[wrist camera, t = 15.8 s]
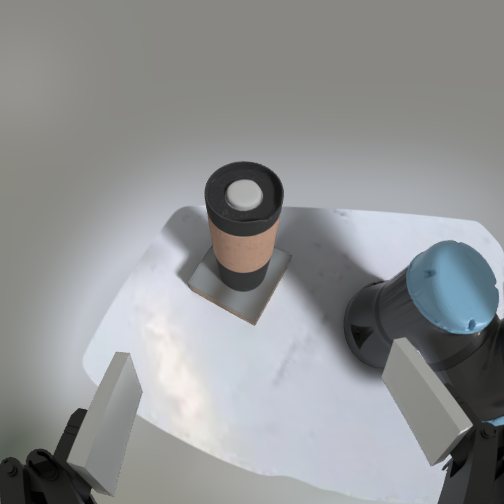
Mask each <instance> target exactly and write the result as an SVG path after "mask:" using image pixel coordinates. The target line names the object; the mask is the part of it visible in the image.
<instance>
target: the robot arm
mask: <svg viewBox="0 0 504 504" xmlns="http://www.w3.org/2000/svg"><path fill="white" fill-rule="evenodd" d="M495 284H496V278H495V276H494V273H493V271H492V269H491V267H490V266H489V264H488V263H487V261H486V260H485V259H484V258H483V257H482V255H481V254H480V253H478V252H477V251H476V250H475V249H473V248H472V247H470V246H469V245H467V244H464V243H461V242H460V243H457V242H456V241H453V240H447V241H442V242H439V243H436V244H434V245H433V246H431V247H430V248H429V249H427V250H426V251H424V252H422V253H420V254H418V255H417V256H416V257H415V258H414V259H413V260H412V261H411V263H410V265H408V266H407V267H406V268H405V269H403V270H402V271H401V272H400V273H398V274H397V275H396V276H394V277H393V278H392V279H391V280H386V281H378V282H374V283H371V284H369V285H367V286H366V287H364V288H363V289H362V290H360V291H359V292H358V293H357V294H356V295H355V296H354V297H353V298H352V300H351V301H350V303H349V305H348V307H347V310H346V313H345V318H344V331H345V337H346V340H347V343H348V345H349V347H350V349H351V350H352V352H353V353H354V354H355V356H356V357H357V358H358V359H360V360H361V361H362V362H364V363H365V364H367V365H370V366H373V367H378V368H385V369H384V371H383V374H382V377H381V378H382V380H383V381H384V383H385V385H386V386H387V388H388V390H389V392H390V393H391V395H392V397H393V398H394V400H395V402H396V404H397V405H398V407H399V409H400V411H401V412H402V414H403V416H404V418H405V419H406V421H407V423H408V425H409V427H410V428H411V430H412V432H413V434H414V436H415V437H416V439H417V441H418V443H419V445H420V447H421V449H422V450H423V452H424V454H425V456H426V458H427V460H428V462H429V464H430V466H434V465H436V464H438V463H440V462H442V461H444V460H445V459H446V457H447V456H448V455H449V454H450V455H451V456H452V458H451V459H450V460H449V461H448V462H447V463H446V464H445V465H444V467H443V468H442V470H443V471H444V470H445V469H446V468H447V467H448V469H447V470H446V471H447V473H446V477H445V481H444V484H443V488H442V491H441V494H440V498H439V501H438V504H504V318H503V319H501V320H500V319H499V317H498V316H497V314H496V311H497V308H498V303H499V292H498V289H497V288H496V287H495ZM417 350H419V352H420V353H421V355H422V357H423V358H424V359H423V358H422V357H421V355H420V354H419V353H418V352H417ZM425 361H426V362H425ZM142 393H143V391H142V388H141V385H140V383H139V380H138V377H137V374H136V371H135V368H134V365H133V361H132V358H131V355H130V353H123V352H116V353H115V355H114V357H113V359H112V361H111V363H110V365H109V367H108V369H107V371H106V373H105V375H104V377H103V379H102V381H101V383H100V385H99V387H98V390H97V392H96V394H95V396H94V398H93V400H92V402H91V405H90V407H89V409H88V410H85V409H81V408H78V409H77V410H76V411H75V412H74V413H73V414H72V415H71V417H70V419H69V421H68V423H67V426H66V428H65V430H64V433H63V435H62V436H61V439H60V441H59V443H58V445H57V448H56V450H55V452H54V455H51V453H50V452H48V451H47V450H44V449H35V450H33V451H32V452H30V454H29V455H28V456H27V459H26V465H23V464H22V463H21V462H20V461H19V460H17V459H16V458H12V457H9V458H6V459H4V460H3V461H2V463H1V464H0V501H1V504H97V503H96V501H95V499H94V498H93V496H92V495H91V493H90V492H91V489H92V488H93V489H94V490H95V491H96V492H98V493H101V494H105V495H108V496H112V497H114V494H115V490H116V486H117V482H118V478H119V474H120V469H121V466H122V462H123V458H124V454H125V451H126V447H127V443H128V440H129V436H130V432H131V429H132V426H133V422H134V419H135V415H136V412H137V409H138V405H139V402H140V399H141V396H142Z"/></svg>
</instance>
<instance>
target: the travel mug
mask: <svg viewBox="0 0 504 504" xmlns="http://www.w3.org/2000/svg"><path fill="white" fill-rule="evenodd" d="M283 198H284V190H283V186H282V183H281V181H280V179H279V178H278V176H277V175H276V174H275V173H274V172H273V171H271V170H270V169H269V168H267V167H265V166H263V165H261V164H258V163H254V162H245V161H242V162H234V163H230V164H227V165H225V166H223V167H221V168H219V169H218V170H216V171H215V172H214V173H213V174H212V175H211V177H210V178H209V179H208V181H207V183H206V187H205V201H206V208H207V214H208V220H209V226H210V232H211V238H212V244H213V249H214V254H215V258H216V261H217V265H218V268H219V272H220V275H221V278H222V280H223V282H224V283H225V284H226V285H227V286H228V287H229V288H231V289H233V290H235V291H240V292H247V291H251V290H253V289H255V288H257V287H258V286H259V285H260V284H261V283H262V282H263V280H264V278H265V275H266V272H267V269H268V266H269V262H270V259H271V256H272V252H273V248H274V243H275V238H276V233H277V228H278V223H279V218H280V213H281V208H282V203H283Z"/></svg>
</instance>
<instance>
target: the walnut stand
mask: <svg viewBox="0 0 504 504" xmlns="http://www.w3.org/2000/svg"><path fill="white" fill-rule="evenodd" d="M291 257H292V256H291V255H289V254H287V253H285V252H283V251H281V250H279V249H277V248H275V247H274V248H273V252H272V256H271V259H270V262H269V266H268V269H267V272H266V275H265V278H264V280H263V282H262V283H261V284H260V285H259V286H258V287H257V288H255V289H253V290H251V291H247V292H240V291H235V290H233V289H231V288H229V287H228V286H227V285H226V284H225V283H224V282H223V280H222V278H221V275H220V272H219V268H218V265H217V261H216V258H215V254H214V249H213V245H212V247H211V248H210V250H209V251H208V252H207V254H206V255H205V257H204V258H203V260H202V261H201V263H200V264H199V266H198V267H197V269H196V270H195V272H194V273H193V275H192V276H191V278H190V279H189V281H188V284H189V286H190V288H191V290H192V291H194V292H195V293H197V294H199V295H200V296H202V297H204V298H206V299H207V300H209V301H211V302H213V303H214V304H216V305H218V306H220V307H221V308H223V309H225V310H227V311H228V312H230V313H232V314H234V315H236V316H238V317H239V318H241V319H243V320H245V321H247V322H249V323H250V324H252V325H254V326H255V325H256V323H257V321H258V320H259V318H260V316H261V314H262V313H263V311H264V309H265V307H266V305H267V304H268V302H269V300H270V298H271V296H272V294H273V293H274V291H275V289H276V287H277V285H278V283H279V282H280V280H281V278H282V276H283V274H284V272H285V271H286V269H287V267H288V265H289V262H290V259H291Z"/></svg>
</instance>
